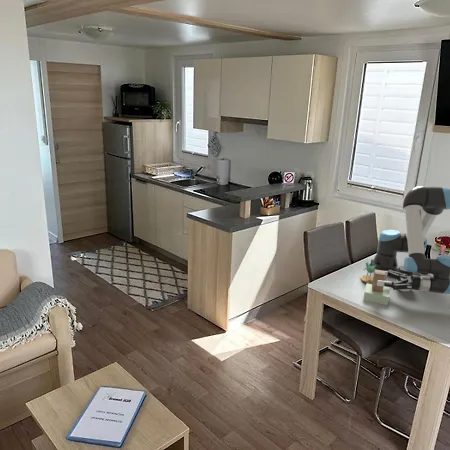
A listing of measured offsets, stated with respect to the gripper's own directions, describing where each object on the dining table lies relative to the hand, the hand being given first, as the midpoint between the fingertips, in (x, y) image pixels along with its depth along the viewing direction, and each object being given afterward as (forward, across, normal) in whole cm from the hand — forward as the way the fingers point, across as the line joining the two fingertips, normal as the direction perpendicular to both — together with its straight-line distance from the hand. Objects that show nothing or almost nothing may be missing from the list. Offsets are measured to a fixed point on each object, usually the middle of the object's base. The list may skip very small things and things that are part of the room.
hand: (375, 277), depth 216 cm
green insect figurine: (0, +21, -12) cm, 24 cm away
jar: (-18, +17, -12) cm, 27 cm away
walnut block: (-2, 0, -7) cm, 7 cm away
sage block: (-2, 0, -12) cm, 12 cm away
